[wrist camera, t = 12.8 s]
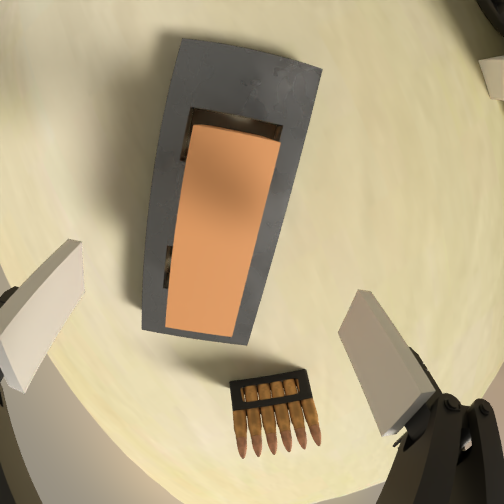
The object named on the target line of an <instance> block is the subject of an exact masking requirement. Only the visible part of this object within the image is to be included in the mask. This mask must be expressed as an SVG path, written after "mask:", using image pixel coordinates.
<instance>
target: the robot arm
mask: <svg viewBox="0 0 504 504" xmlns="http://www.w3.org/2000/svg"><path fill="white" fill-rule="evenodd" d="M477 2H478V4H479V5H480V7H481V9H482V10H483V12H484V14H485V15H486V17H487V18H488V19H489V21H490V22H491V24H492V25H493V26H494V27H495V29H496V30H497V31H498V32H499V33H500V34H501V35H502V36H503V37H504V0H477ZM84 293H85V285H84V271H83V250H82V242H81V241H76V240H71V239H68V240H67V241H66V242H65V243H64V244H63V245H61V246H60V247H59V248H58V249H57V250H56V251H55V252H54V253H53V254H52V255H51V256H50V257H49V258H48V259H47V260H46V261H45V262H44V263H43V264H42V265H41V266H40V267H39V268H38V269H37V270H36V271H35V272H34V273H33V274H32V275H31V276H30V277H29V278H28V279H27V280H26V281H25V282H24V283H23V284H22V285H21V286H20V287H16V286H14V287H13V288H11V289H9V290H7V291H6V292H4V293H3V294H2V296H1V297H0V382H1V380H2V378H3V377H5V379H6V381H7V383H8V385H9V387H11V388H13V389H16V390H18V391H20V392H22V393H25V392H26V390H27V388H28V386H29V384H30V382H31V381H32V379H33V377H34V375H35V373H36V371H37V370H38V368H39V366H40V364H41V362H42V361H43V359H44V357H45V355H46V353H47V352H48V350H49V348H50V347H51V345H52V343H53V342H54V340H55V338H56V337H57V335H58V333H59V332H60V330H61V328H62V327H63V325H64V324H65V322H66V321H67V319H68V317H69V316H70V314H71V313H72V311H73V310H74V308H75V307H76V305H77V304H78V302H79V301H80V299H81V298H82V296H83V295H84ZM338 334H339V336H340V339H341V341H342V343H343V345H344V348H345V350H346V352H347V354H348V357H349V359H350V361H351V363H352V366H353V368H354V370H355V373H356V375H357V377H358V380H359V382H360V384H361V387H362V389H363V392H364V394H365V396H366V399H367V401H368V404H369V406H370V409H371V411H372V413H373V416H374V418H375V421H376V423H377V426H378V428H379V431H380V433H381V436H388V435H393V434H397V433H398V432H399V431H400V430H401V429H402V428H403V427H404V426H405V427H406V429H407V432H406V433H405V434H404V435H403V436H401V437H400V438H399V439H398V440H397V441H396V442H395V443H394V445H393V447H395V446H396V445H398V444H399V443H400V446H399V447H398V452H397V454H396V457H395V460H394V462H393V465H392V468H391V470H390V473H389V475H388V478H387V480H386V482H385V485H384V487H383V489H382V492H381V494H380V496H379V498H378V500H377V503H376V504H504V457H503V451H502V446H501V440H500V436H499V431H498V427H497V422H496V418H495V414H494V411H493V408H492V407H491V405H490V403H489V402H487V401H486V400H484V399H476V400H475V401H474V402H473V404H472V405H471V406H463V405H461V403H460V401H459V400H458V399H457V398H456V397H454V396H453V395H451V394H448V393H443V394H442V392H441V390H440V389H439V387H438V385H437V384H436V382H435V380H434V379H433V377H432V376H431V374H430V372H429V371H427V368H426V366H425V364H423V361H422V360H421V358H420V357H419V355H418V354H417V353H416V352H415V351H414V350H413V349H412V348H411V347H408V345H407V344H406V342H405V341H404V339H403V338H402V336H401V335H400V333H399V332H398V330H397V329H396V327H395V326H394V324H393V323H392V321H391V320H390V318H389V317H388V315H387V314H386V312H385V311H384V310H383V308H382V307H381V305H380V304H379V302H378V301H377V300H376V298H375V297H374V295H373V294H372V292H371V291H365V290H359V289H358V291H357V293H356V295H355V297H354V300H353V302H352V304H351V306H350V308H349V310H348V313H347V315H346V317H345V319H344V321H343V323H342V325H341V327H340V329H339V331H338ZM469 441H472V446H471V447H470V448H469V449H467V450H466V451H465V445H466V444H467V443H468V442H469ZM0 504H42V502H41V500H40V498H39V496H38V493H37V491H36V489H35V487H34V485H33V482H32V481H31V478H30V475H29V473H28V471H27V468H26V466H25V463H24V460H23V458H22V455H21V452H20V450H19V447H18V444H17V441H16V438H15V434H14V431H13V428H12V424H11V421H10V417H9V413H8V410H7V405H6V401H5V398H4V392H3V388H2V386H1V384H0Z"/></svg>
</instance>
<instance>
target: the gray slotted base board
mask: <svg viewBox="0 0 504 504" xmlns="http://www.w3.org/2000/svg"><path fill="white" fill-rule="evenodd" d="M321 73H322V69H321V68H318V67H315V66H312V65H309V64H306V63H302V62H299V61H296V60H292V59H289V58H285V57H281V56H277V55H274V54H270V53H265V52H261V51H257V50H252V49H248V48H243V47H238V46H232V45H227V44H221V43H215V42H208V41H201V40H193V39H183V38H182V42H181V45H180V49H179V52H178V56H177V60H176V64H175V67H174V71H173V75H172V79H171V84H170V88H169V92H168V96H167V101H166V106H165V110H164V115H163V120H162V125H161V130H160V136H159V141H158V147H157V153H156V159H155V166H154V172H153V179H152V186H151V194H150V202H149V211H148V220H147V231H146V242H145V255H144V270H143V291H142V330H147V331H152V332H157V333H163V334H169V335H174V336H181V337H187V338H193V339H200V340H207V341H214V342H222V343H230V344H238V345H247V344H248V341H249V338H250V334H251V331H252V328H253V324H254V321H255V317H256V314H257V311H258V307H259V304H260V301H261V297H262V294H263V290H264V287H265V283H266V280H267V276H268V273H269V269H270V266H271V262H272V259H273V255H274V252H275V248H276V245H277V241H278V238H279V234H280V230H281V227H282V223H283V220H284V216H285V212H286V209H287V205H288V201H289V198H290V194H291V190H292V186H293V183H294V179H295V175H296V171H297V168H298V164H299V160H300V156H301V153H302V149H303V145H304V141H305V137H306V133H307V129H308V125H309V121H310V118H311V114H312V110H313V106H314V102H315V98H316V94H317V90H318V85H319V81H320V77H321ZM194 109H200V110H206V111H212V112H217V113H223V114H228V115H233V116H238V117H243V118H248V119H252V120H257V121H261V122H265V123H270V124H274V125H277V127H276V131H275V135H274V139H273V140H275V141H278V142H281V144H280V148H279V152H278V156H277V160H276V164H275V168H274V172H273V176H272V180H271V184H270V188H269V192H268V196H267V200H266V204H265V208H264V212H263V216H262V220H261V224H260V228H259V232H258V236H257V240H256V244H255V248H254V252H253V256H252V259H251V263H250V267H249V271H248V275H247V279H246V283H245V287H244V291H243V295H242V299H241V303H240V307H239V311H238V315H237V319H236V323H235V327H234V331H233V335H232V337H228V336H221V335H213V334H206V333H199V332H193V331H186V330H180V329H174V328H168V327H165V323H166V310H167V298H168V288H169V278H170V273H168V265H169V256H170V248H171V246H173V243H174V235H175V228H176V221H177V214H178V207H179V201H180V195H181V188H182V182H183V177H184V171H185V165H186V160H187V157H184V156H185V151H186V146H187V141H188V136H189V131H190V126H191V121H192V117H193V112H194Z"/></svg>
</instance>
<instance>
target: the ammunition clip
mask: <svg viewBox="0 0 504 504" xmlns="http://www.w3.org/2000/svg"><path fill="white" fill-rule="evenodd" d="M229 383H230V391H231V400H232V408H233V421H234V431H235V434H236V440H237V447H238V451H239V454H240V456H241V457H242V459H244V458H245V455H246V450H247V420H246V416H247V419H248V428H249V431H250V434H251V439H252V445H253V449H254V451H255V453H256V455H257V456H258V457H260V455H261V450H262V438H261V428H262V425H261V417H260V414H261V416H262V423H263V427H264V430H265V434H266V438H267V443H268V446H269V448H270V451H271V452H272V454H273V455H275V454H276V450H277V437H276V421H277V425H278V427H279V430H280V434H281V438H282V441H283V444H284V446H285V448H286V450H287V451H288V452H290V451H291V448H292V437H291V430H290V418H291V422H292V424H293V426H294V430H295V433H296V436H297V439H298V442H299V444H300V445H301V447H302V448H303V449H305V448H306V444H307V438H306V432H305V426H304V416H305V419H306V422H307V423H308V426H309V429H310V432H311V435H312V437H313V439H314V441H315V443H316V444H317V445H318V446H320V445H321V432H320V428H319V423H318V414H317V411H316V407H315V404H314V401H313V396H312V392H311V388H310V383H309V379H308V375H307V371H306V370H305V369H303V370H298V371H293V372H288V373H282V374H277V375H271V376H265V377H258V378H251V379H244V380H237V381H230V382H229ZM296 386H297V388H296ZM283 388H284V389H283ZM270 390H271V391H270ZM297 390H298V392H297ZM257 392H258V394H257ZM284 392H285V394H284ZM244 394H245V398H244ZM271 394H272V397H271ZM258 395H259V400H258ZM245 400H246V402H245ZM301 407H302V408H301ZM302 409H303V412H302ZM288 410H289V413H288ZM274 412H275V414H274ZM303 413H304V416H303ZM289 414H290V418H289ZM275 415H276V420H275Z"/></svg>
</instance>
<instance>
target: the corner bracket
mask: <svg viewBox="0 0 504 504" xmlns="http://www.w3.org/2000/svg"><path fill="white" fill-rule="evenodd" d="M478 62H479V64H480V67H481V70H482V73H483V76H484V79H485V82H486V86H487V89H488V92H489V96H490V99H495V100H503V101H504V56H498V57H492V58H488V59H483V60H478Z"/></svg>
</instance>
